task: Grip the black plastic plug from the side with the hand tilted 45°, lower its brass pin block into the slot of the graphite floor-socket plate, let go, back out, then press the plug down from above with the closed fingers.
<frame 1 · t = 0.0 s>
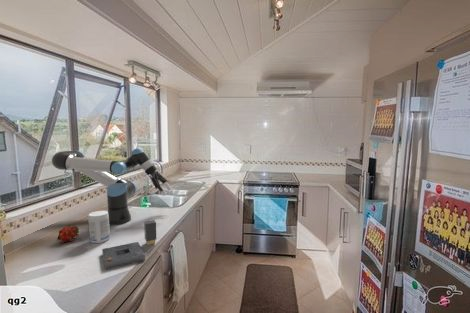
hand: (167, 192, 181), 15 cm above the countertop, tool tilted 35°, fingers open, 13 cm apart
supplement tub: (100, 240, 139), on the countertop
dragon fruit: (68, 241, 138), on the countertop
plug: (150, 243, 136), on the countertop
socket plate: (123, 257, 121), on the countertop
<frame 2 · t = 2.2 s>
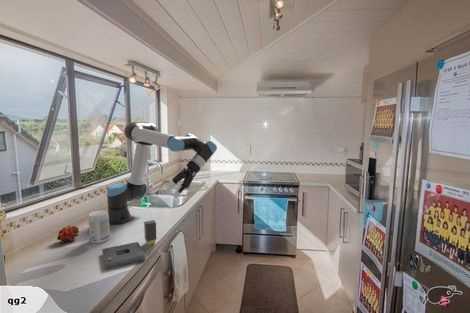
hand: (170, 194, 139), 24 cm above the countertop, tool tilted 45°, fingers open, 13 cm apart
nothing on the countertop moved.
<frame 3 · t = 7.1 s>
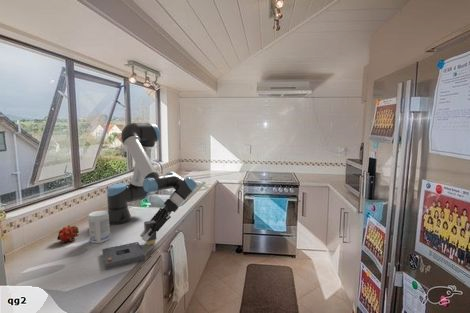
hand: (142, 238, 133), 3 cm above the countertop, tool tilted 45°, fingers closed on plug, 4 cm apart
plug: (150, 243, 136), on the countertop, touching gripper
everything else where it was.
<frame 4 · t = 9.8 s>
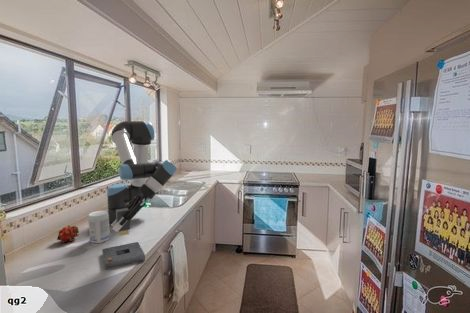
hand: (114, 228, 118), 14 cm above the countertop, tool tilted 45°, fingers closed on plug, 4 cm apart
plug: (123, 233, 120), point 11 cm above the countertop, touching gripper
everything else where it was.
when the fingers open (4 cm above the countertop, at t = 12.4 s): plug drops 1 cm, resting in socket plate.
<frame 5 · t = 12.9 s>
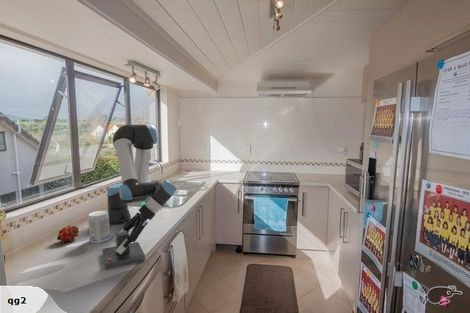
hand: (116, 247, 119), 5 cm above the countertop, tool tilted 45°, fingers open, 11 cm apart
plug: (123, 257, 121), resting in socket plate
everything else where it was.
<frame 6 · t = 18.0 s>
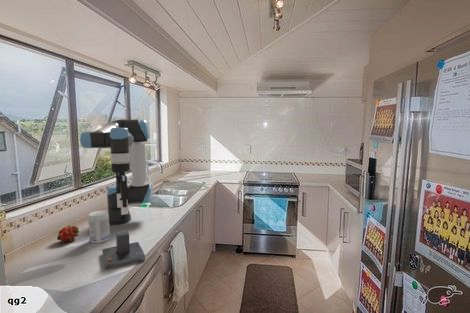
hand: (122, 210, 119), 22 cm above the countertop, tool pointing down, fingers open, 11 cm apart
nothing on the countertop moved.
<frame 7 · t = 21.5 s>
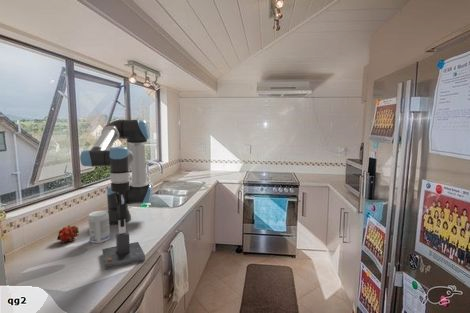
hand: (122, 232, 120), 12 cm above the countertop, tool pointing down, fingers closed
nothing on the countertop moved.
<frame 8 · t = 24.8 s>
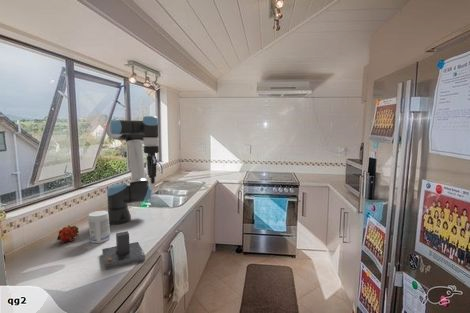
hand: (152, 189, 142), 26 cm above the countertop, tool pointing down, fingers closed
nothing on the countertop moved.
at the end: plug 0.1 cm off-centre on the socket plate, point 0.0 cm above the socket plate's base; plug tilted 0°; the gripper is holding nothing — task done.
